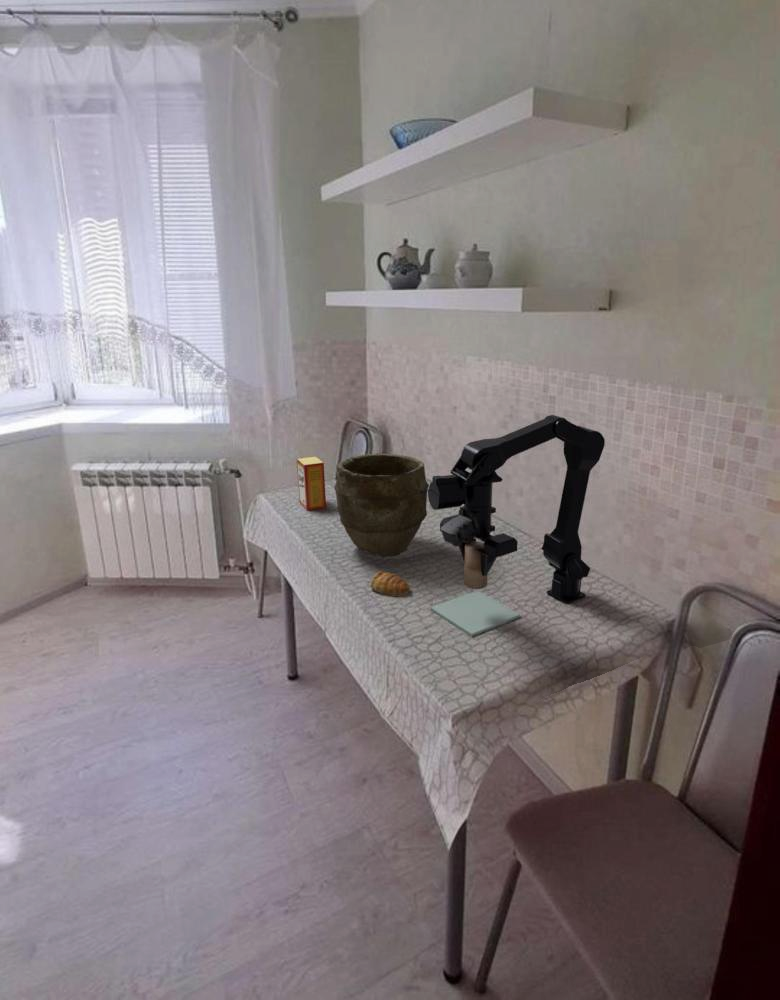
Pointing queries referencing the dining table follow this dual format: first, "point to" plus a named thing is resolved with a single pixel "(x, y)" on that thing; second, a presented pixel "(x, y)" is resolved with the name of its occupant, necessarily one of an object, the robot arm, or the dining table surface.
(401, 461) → the clay pot
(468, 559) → the brown rounded cylinder
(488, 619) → the card
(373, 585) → the pastry
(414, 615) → the dining table surface
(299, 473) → the baking soda box
